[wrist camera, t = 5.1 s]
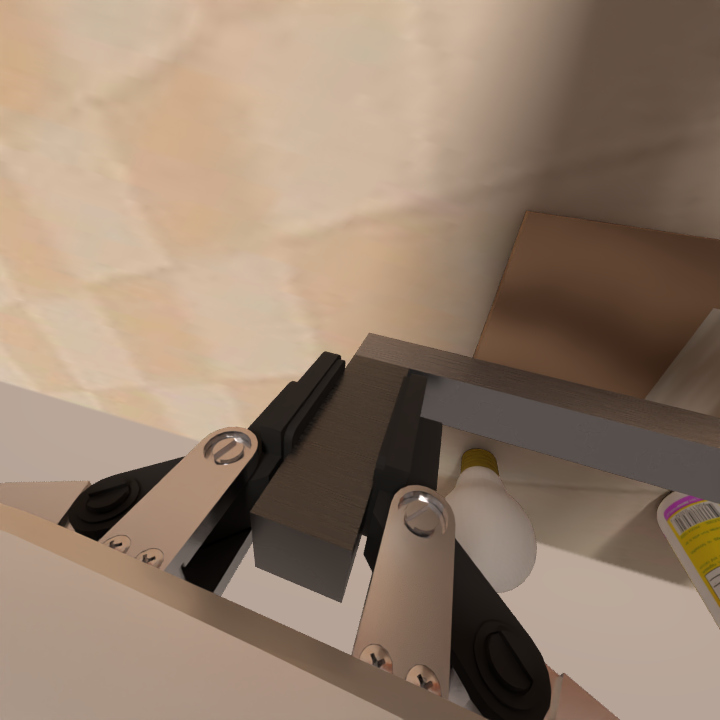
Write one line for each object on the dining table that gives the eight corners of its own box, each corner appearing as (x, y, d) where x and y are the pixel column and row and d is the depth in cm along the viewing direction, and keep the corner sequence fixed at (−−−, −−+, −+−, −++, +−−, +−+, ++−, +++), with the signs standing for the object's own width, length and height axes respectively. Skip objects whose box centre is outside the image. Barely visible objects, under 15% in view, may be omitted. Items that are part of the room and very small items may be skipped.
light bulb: (491, 414, 23) (506, 541, 15) (533, 466, 24) (569, 612, 16) (427, 442, 26) (410, 560, 18) (467, 487, 27) (469, 618, 19)
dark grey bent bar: (369, 332, 13) (249, 512, 6) (847, 448, 10) (1861, 1132, 3) (363, 372, 14) (255, 566, 7) (794, 488, 11) (1425, 1059, 4)
